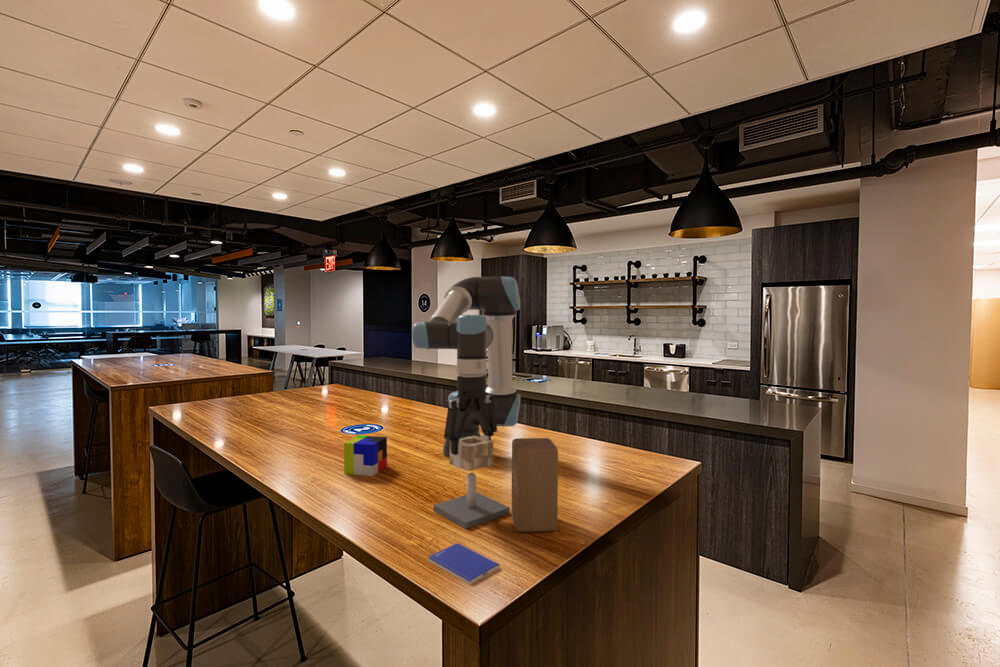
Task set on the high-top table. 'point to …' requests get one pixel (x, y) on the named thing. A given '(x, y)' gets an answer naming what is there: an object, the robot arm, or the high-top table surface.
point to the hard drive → (463, 563)
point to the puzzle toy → (365, 455)
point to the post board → (471, 507)
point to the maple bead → (475, 453)
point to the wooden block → (534, 484)
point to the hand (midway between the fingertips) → (471, 463)
